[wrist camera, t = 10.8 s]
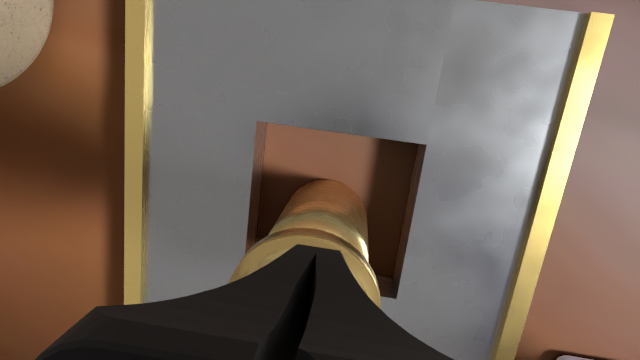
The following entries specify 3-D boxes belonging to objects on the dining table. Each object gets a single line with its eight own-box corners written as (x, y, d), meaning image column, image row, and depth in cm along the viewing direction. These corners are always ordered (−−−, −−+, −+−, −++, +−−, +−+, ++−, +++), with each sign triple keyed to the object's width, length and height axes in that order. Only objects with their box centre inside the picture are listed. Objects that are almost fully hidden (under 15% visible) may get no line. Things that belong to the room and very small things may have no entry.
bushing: (380, 180, 19) (392, 250, 11) (366, 269, 20) (369, 390, 12) (283, 167, 19) (228, 227, 11) (275, 256, 20) (221, 365, 12)
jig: (580, 23, 16) (614, 14, 14) (480, 389, 21) (494, 426, 19) (155, -27, 17) (125, -43, 15) (147, 331, 22) (123, 359, 20)
